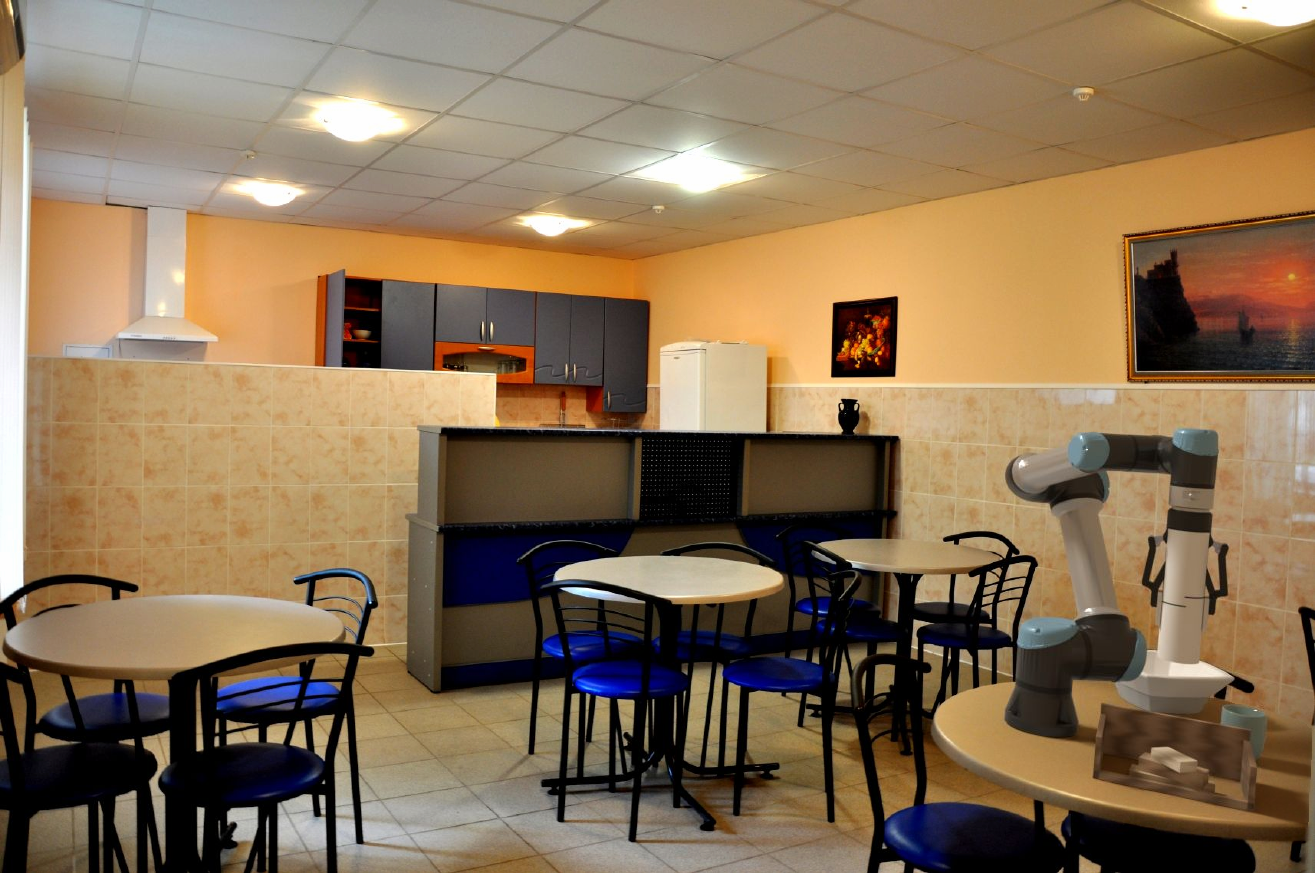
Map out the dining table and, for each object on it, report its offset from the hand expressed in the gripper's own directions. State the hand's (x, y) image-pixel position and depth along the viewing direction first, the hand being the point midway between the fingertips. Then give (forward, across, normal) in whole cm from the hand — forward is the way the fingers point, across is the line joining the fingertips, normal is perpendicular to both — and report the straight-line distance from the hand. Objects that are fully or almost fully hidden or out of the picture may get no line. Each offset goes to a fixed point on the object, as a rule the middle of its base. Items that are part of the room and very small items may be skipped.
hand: (1180, 627), depth 183 cm
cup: (+29, +13, +20) cm, 38 cm away
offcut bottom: (+30, 0, -6) cm, 30 cm away
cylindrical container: (+6, 0, 0) cm, 6 cm away
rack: (+29, 0, -2) cm, 29 cm away
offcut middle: (+27, 0, -6) cm, 28 cm away
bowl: (+29, -2, +51) cm, 59 cm away
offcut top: (+25, 0, -7) cm, 26 cm away
